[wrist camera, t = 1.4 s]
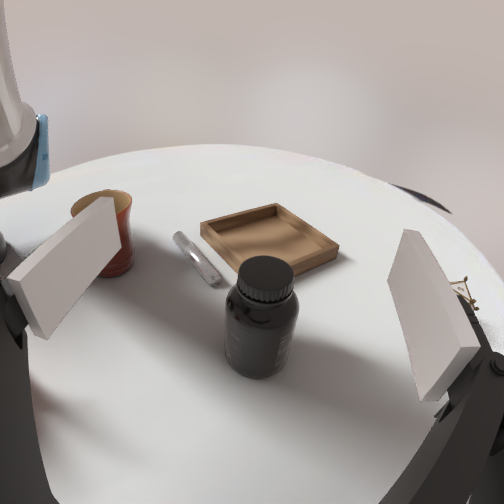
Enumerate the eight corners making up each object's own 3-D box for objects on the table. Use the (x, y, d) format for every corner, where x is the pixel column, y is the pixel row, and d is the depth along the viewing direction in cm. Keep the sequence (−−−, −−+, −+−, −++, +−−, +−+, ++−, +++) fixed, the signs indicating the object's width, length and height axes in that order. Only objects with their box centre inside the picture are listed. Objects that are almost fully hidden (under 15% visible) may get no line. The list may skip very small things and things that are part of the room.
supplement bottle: (270, 325, 36) (285, 242, 30) (296, 369, 32) (323, 288, 25) (215, 339, 34) (216, 254, 27) (237, 388, 29) (245, 308, 22)
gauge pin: (173, 243, 49) (172, 233, 47) (184, 240, 50) (183, 229, 48) (209, 288, 41) (208, 276, 40) (221, 283, 42) (222, 272, 41)
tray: (200, 235, 51) (200, 222, 50) (275, 214, 59) (276, 202, 58) (256, 293, 41) (258, 279, 39) (335, 258, 49) (339, 245, 48)
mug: (141, 280, 41) (131, 215, 35) (83, 287, 38) (64, 224, 32) (139, 234, 50) (133, 178, 44) (91, 240, 47) (80, 185, 41)
